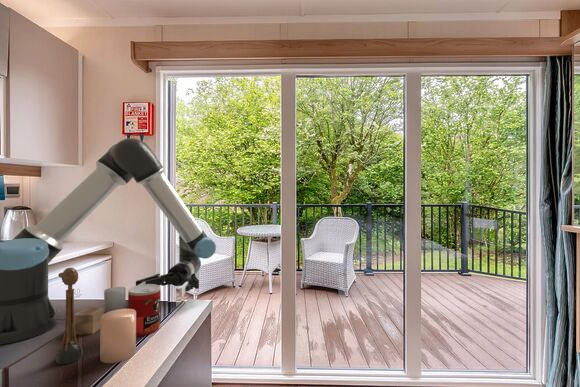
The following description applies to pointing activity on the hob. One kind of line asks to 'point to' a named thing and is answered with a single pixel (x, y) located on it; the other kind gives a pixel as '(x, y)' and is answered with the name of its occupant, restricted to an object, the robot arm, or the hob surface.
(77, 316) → the walnut block
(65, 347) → the wooden tabletop sculpture
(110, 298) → the grey-white rounded cylinder
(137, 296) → the canned food
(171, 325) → the hob surface
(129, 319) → the peach cylinder
